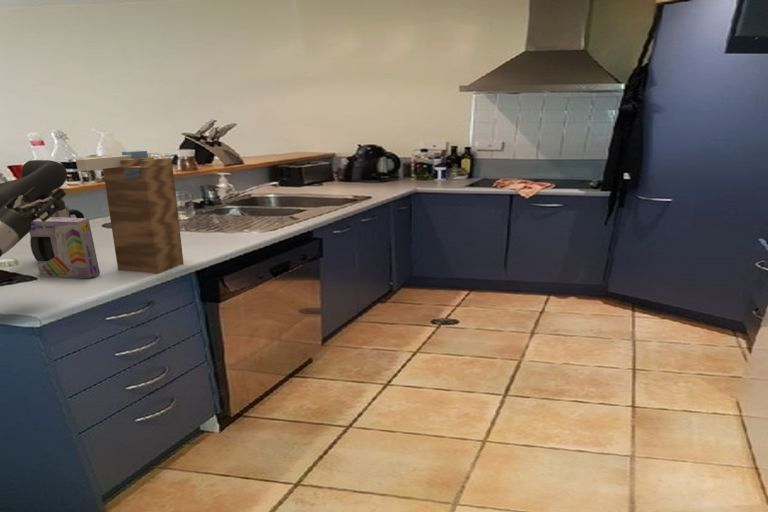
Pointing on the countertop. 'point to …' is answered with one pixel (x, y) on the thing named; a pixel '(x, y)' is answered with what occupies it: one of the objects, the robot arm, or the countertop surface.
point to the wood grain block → (144, 215)
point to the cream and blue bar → (108, 160)
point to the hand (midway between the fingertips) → (49, 190)
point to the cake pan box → (64, 247)
